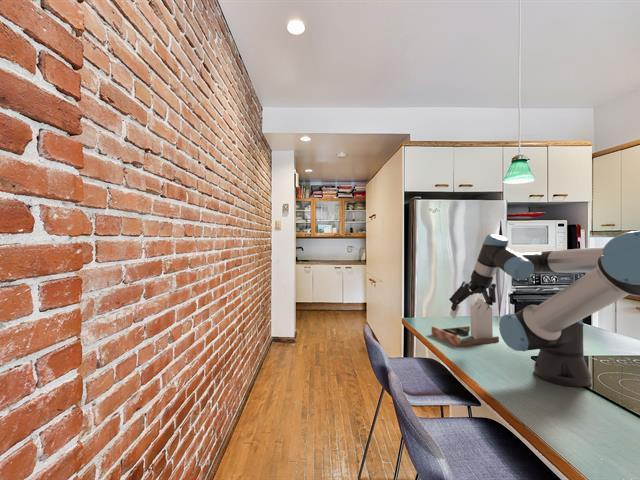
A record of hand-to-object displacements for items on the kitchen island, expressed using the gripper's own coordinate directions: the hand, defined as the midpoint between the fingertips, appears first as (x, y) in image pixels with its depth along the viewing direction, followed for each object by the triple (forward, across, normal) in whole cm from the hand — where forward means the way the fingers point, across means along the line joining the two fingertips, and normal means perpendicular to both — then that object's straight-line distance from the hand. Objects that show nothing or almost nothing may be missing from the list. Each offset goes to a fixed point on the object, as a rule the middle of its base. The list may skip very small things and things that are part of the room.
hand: (466, 315), depth 127 cm
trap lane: (+20, -12, -8) cm, 25 cm away
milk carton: (+19, -19, -6) cm, 27 cm away
